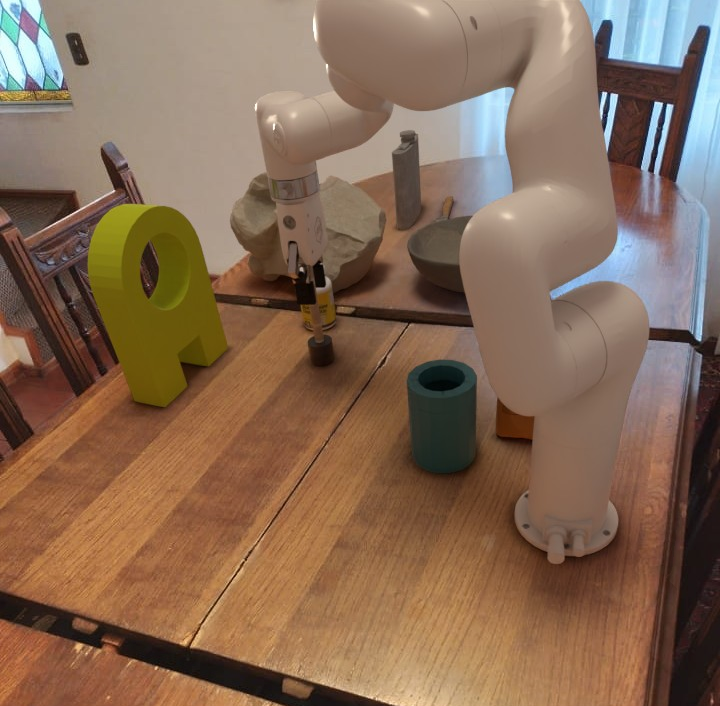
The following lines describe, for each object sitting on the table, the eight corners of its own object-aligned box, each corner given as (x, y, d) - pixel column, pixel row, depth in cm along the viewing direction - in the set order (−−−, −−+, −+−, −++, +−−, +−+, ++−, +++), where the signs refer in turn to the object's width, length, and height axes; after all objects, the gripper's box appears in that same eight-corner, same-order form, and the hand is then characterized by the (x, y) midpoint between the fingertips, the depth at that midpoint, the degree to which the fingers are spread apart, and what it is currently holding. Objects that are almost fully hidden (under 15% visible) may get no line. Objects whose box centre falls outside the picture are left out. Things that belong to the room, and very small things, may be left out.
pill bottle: (297, 329, 132) (287, 273, 124) (314, 313, 136) (305, 258, 128) (326, 334, 129) (317, 277, 122) (342, 318, 133) (335, 262, 126)
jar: (472, 475, 94) (472, 399, 86) (407, 471, 97) (401, 396, 88) (478, 434, 101) (479, 360, 93) (417, 431, 103) (413, 358, 95)
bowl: (398, 312, 133) (395, 263, 126) (421, 255, 152) (419, 210, 145) (536, 315, 126) (540, 264, 120) (541, 255, 145) (545, 208, 139)
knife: (441, 196, 175) (453, 196, 174) (442, 201, 175) (453, 200, 175) (425, 248, 153) (438, 247, 152) (425, 253, 153) (438, 252, 153)
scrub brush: (331, 366, 120) (316, 271, 108) (307, 366, 121) (290, 271, 109) (337, 353, 123) (323, 259, 112) (314, 353, 124) (298, 259, 113)
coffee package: (572, 402, 105) (589, 268, 90) (553, 450, 96) (568, 311, 82) (509, 391, 109) (515, 261, 94) (486, 437, 100) (489, 302, 86)
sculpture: (346, 285, 167) (248, 200, 158) (414, 210, 147) (307, 109, 139) (306, 347, 150) (195, 255, 142) (378, 272, 130) (253, 161, 122)
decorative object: (165, 407, 116) (103, 236, 96) (134, 401, 118) (68, 233, 99) (228, 348, 129) (185, 187, 110) (199, 343, 131) (153, 185, 112)
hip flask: (410, 205, 176) (405, 122, 163) (425, 205, 175) (422, 121, 162) (395, 230, 164) (389, 142, 152) (411, 230, 163) (407, 141, 150)
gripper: (301, 205, 95) (320, 320, 107) (332, 165, 107) (345, 272, 119) (252, 206, 97) (275, 320, 109) (287, 167, 109) (305, 272, 121)
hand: (312, 294), depth 114 cm, fingers open, 5 cm apart
